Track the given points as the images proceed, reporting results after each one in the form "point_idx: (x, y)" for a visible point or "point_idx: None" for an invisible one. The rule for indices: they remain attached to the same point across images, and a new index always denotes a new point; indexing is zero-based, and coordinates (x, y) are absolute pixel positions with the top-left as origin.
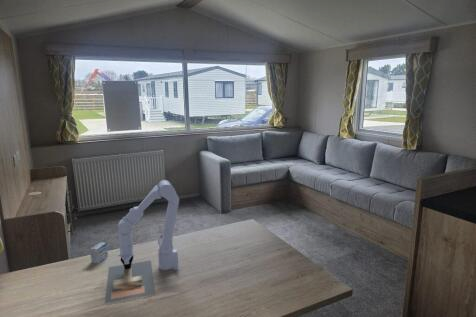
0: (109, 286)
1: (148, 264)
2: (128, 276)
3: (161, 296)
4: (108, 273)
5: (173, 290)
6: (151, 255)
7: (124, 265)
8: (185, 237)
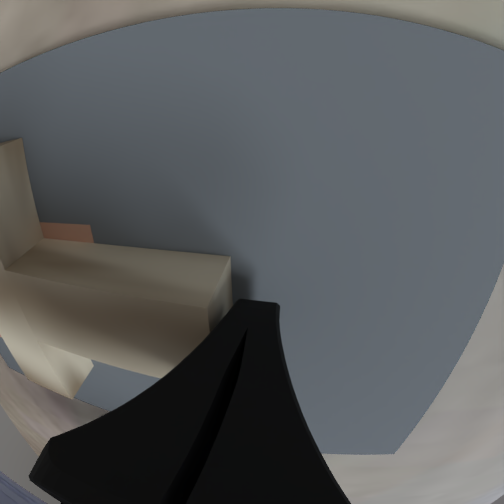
0: (15, 95)
1: (339, 444)
2: (42, 321)
3: (17, 372)
4: (353, 16)
5: (59, 414)
6: (479, 436)
7: (165, 384)
8: (489, 496)
